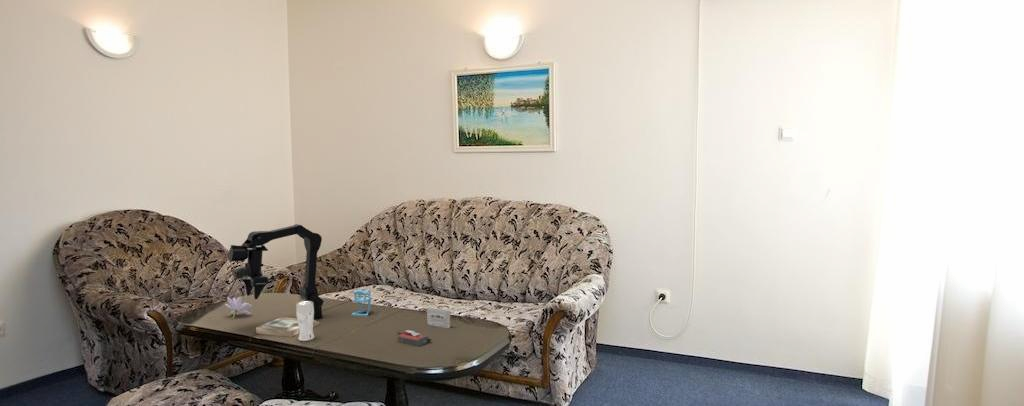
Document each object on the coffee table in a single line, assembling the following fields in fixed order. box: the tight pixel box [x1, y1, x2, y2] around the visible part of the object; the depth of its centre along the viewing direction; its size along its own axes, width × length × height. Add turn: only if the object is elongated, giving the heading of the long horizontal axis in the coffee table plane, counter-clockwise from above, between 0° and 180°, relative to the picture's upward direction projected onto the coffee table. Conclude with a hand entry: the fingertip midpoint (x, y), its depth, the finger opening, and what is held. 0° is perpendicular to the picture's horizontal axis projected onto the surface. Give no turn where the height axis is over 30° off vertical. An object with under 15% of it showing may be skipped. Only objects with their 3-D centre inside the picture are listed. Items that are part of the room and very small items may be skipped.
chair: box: [351, 289, 373, 317], centre depth 278 cm, size 8×8×12 cm
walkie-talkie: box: [396, 329, 432, 347], centre depth 239 cm, size 9×4×20 cm
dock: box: [255, 317, 320, 338], centre depth 256 cm, size 18×18×4 cm
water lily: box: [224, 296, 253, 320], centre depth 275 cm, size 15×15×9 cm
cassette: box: [426, 306, 451, 329], centre depth 257 cm, size 12×2×8 cm, turn 59°
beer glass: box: [295, 300, 315, 342], centre depth 241 cm, size 7×7×15 cm
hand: (252, 297), depth 253 cm, fingers open, 9 cm apart
